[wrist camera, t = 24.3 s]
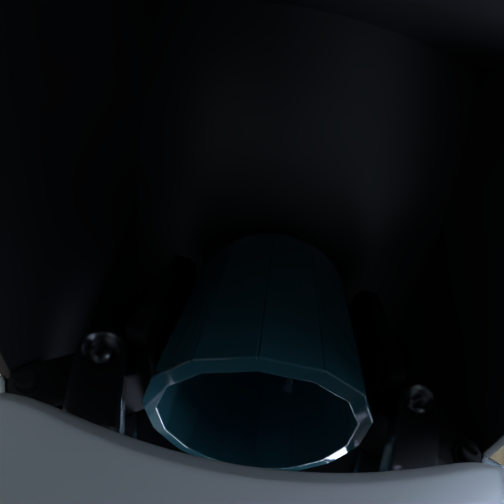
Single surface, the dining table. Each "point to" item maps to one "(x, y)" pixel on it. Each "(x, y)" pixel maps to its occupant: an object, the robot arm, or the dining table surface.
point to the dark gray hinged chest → (259, 168)
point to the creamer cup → (263, 361)
